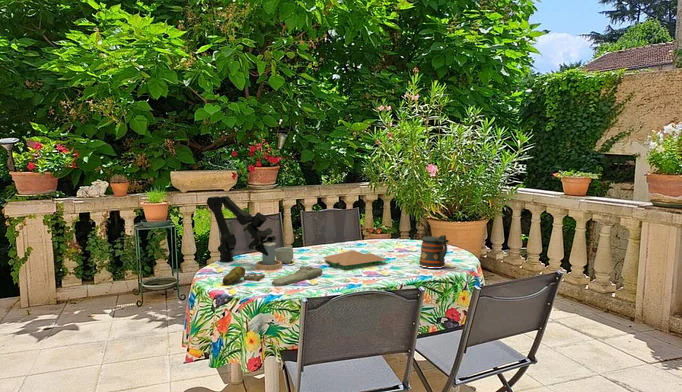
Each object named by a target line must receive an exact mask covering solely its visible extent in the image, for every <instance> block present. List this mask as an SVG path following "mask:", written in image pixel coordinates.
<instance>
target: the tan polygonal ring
mask: <svg viewBox="0 0 682 392" xmlns="http://www.w3.org/2000/svg"><path fill="white" fill-rule="evenodd" d="M255 268H256V269H257V270H260V271H275V270H280V269H282V268H283V263H282V262H281V261H278V260H276V259H275V265H268V266H267V265H262V260H258V261H256V262H255Z"/></svg>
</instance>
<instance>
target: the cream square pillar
mask: <svg viewBox="0 0 682 392" xmlns="http://www.w3.org/2000/svg"><path fill="white" fill-rule="evenodd" d="M276 245H277V243H276V242H272V243H270V242H267V243H263V246H264V248H265V250H266V251H267V253H268V256H266V255H264V254H262V253H261V254H262V256H261V261H262V265H267V266H268V265H275V260H276V257H275V249H276Z"/></svg>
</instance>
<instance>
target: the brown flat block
mask: <svg viewBox="0 0 682 392" xmlns="http://www.w3.org/2000/svg"><path fill="white" fill-rule="evenodd" d="M323 259H324V263H327V264H328V265H331V266H330V267H333V268H335V269H338V265H339V269H342V270H344V271H346V269H348V270H353V269H355V270H356V265H359V266H360V268H361V267H362V268H363V264H367V267H368V266H369V267H370V263H372V264H373V263H374V264H375V266H378V265H377V264H378V262H379V261H380V264H384V263H386V261H387V260H388V259H387V258H385V257H383V256H379V255H376V254H373V253H371V252H368V253H367V252H366V253H362V252H360V251H357V250H354V249H353V250H348V251H343V252H339V253H335V254H331V255H327V256H323Z"/></svg>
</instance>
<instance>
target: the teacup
mask: <svg viewBox="0 0 682 392" xmlns="http://www.w3.org/2000/svg"><path fill="white" fill-rule="evenodd" d="M293 259H294V248H293V247H289V246H288V247H287V246H284V247H278V248H275V260H278V261H281V262H282V264H288V263H291V262H292V261H293Z"/></svg>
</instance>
